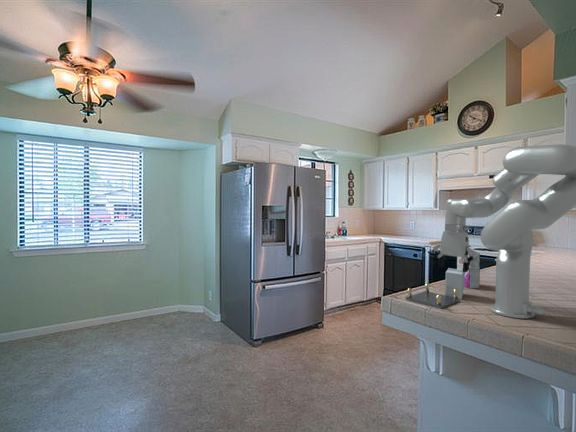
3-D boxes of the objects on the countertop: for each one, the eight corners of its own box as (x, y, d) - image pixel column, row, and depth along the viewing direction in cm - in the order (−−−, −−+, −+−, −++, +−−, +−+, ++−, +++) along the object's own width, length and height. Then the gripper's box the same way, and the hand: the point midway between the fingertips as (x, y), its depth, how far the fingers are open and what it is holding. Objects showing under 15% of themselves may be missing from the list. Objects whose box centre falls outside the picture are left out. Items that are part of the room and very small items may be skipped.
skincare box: (462, 300, 123) (462, 273, 123) (444, 297, 127) (444, 272, 127) (464, 293, 132) (464, 269, 132) (447, 291, 136) (447, 267, 135)
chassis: (459, 301, 122) (460, 289, 122) (440, 308, 113) (440, 296, 112) (425, 293, 133) (425, 282, 133) (405, 299, 124) (405, 288, 124)
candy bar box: (456, 282, 152) (456, 249, 151) (466, 282, 152) (466, 249, 151) (468, 288, 141) (469, 252, 140) (480, 288, 140) (480, 252, 140)
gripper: (481, 230, 124) (479, 272, 125) (438, 226, 138) (437, 264, 139) (473, 231, 120) (471, 274, 121) (430, 227, 134) (428, 266, 135)
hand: (453, 269), depth 130 cm, fingers open, 9 cm apart
